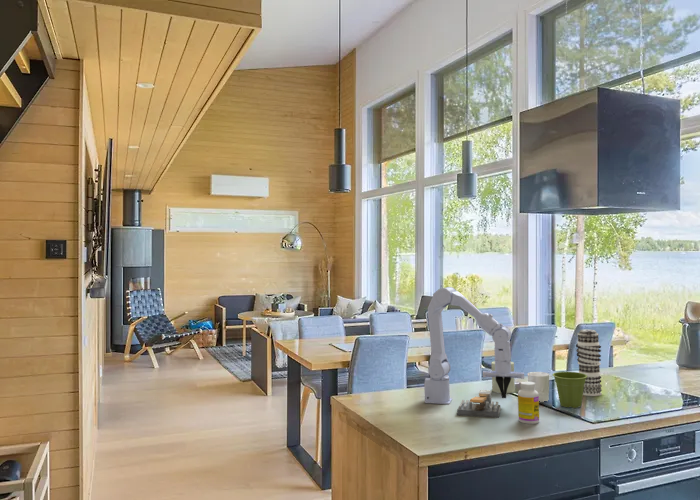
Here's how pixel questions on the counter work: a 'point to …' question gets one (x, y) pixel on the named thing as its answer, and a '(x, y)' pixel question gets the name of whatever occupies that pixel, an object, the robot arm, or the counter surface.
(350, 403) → the counter surface
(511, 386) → the can
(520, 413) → the supplement bottle
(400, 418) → the counter surface
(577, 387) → the plant pot
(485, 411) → the heatsink block
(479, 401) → the orange rectangular bar
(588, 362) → the decorative candle
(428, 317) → the robot arm
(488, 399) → the block
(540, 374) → the white cup
